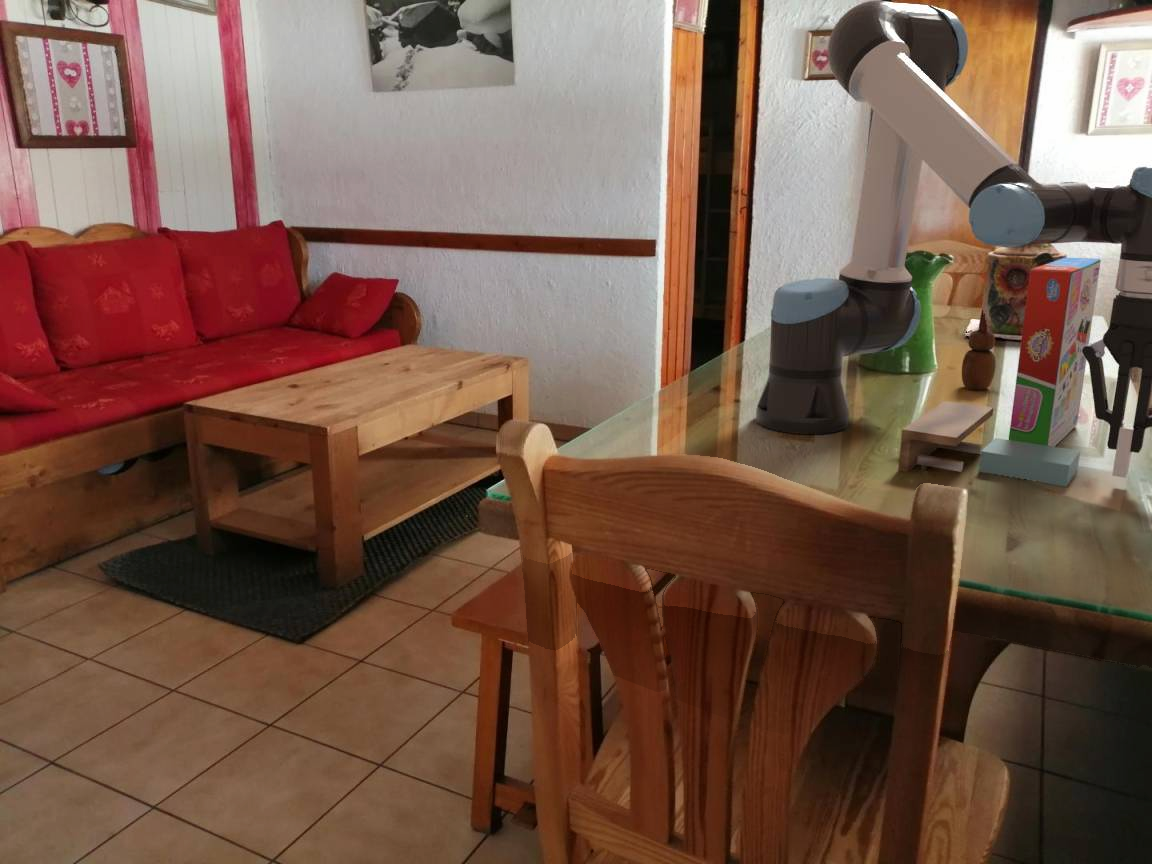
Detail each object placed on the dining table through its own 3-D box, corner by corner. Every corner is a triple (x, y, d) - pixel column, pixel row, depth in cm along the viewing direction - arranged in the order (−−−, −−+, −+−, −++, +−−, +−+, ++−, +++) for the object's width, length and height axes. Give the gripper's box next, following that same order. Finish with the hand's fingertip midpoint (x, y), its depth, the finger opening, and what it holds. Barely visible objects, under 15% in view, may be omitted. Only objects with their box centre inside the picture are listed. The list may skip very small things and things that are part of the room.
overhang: (898, 470, 127) (902, 429, 125) (940, 437, 142) (944, 400, 141) (951, 480, 123) (956, 437, 121) (988, 445, 138) (993, 407, 136)
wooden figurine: (962, 383, 179) (971, 307, 175) (994, 386, 176) (1004, 309, 172) (957, 390, 173) (965, 312, 169) (989, 393, 170) (999, 314, 166)
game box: (1041, 421, 151) (1063, 256, 144) (1077, 427, 148) (1102, 258, 140) (1006, 450, 136) (1029, 267, 128) (1045, 457, 132) (1072, 269, 125)
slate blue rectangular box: (978, 471, 126) (981, 451, 125) (992, 457, 132) (995, 437, 131) (1066, 486, 120) (1069, 465, 119) (1077, 471, 126) (1080, 450, 125)
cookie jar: (969, 324, 248) (982, 204, 239) (1070, 330, 238) (1088, 205, 229) (962, 339, 227) (977, 208, 218) (1073, 346, 216) (1093, 208, 207)
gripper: (1085, 294, 114) (1059, 472, 120) (1210, 301, 106) (1176, 491, 112) (1094, 288, 119) (1070, 458, 126) (1214, 294, 112) (1181, 475, 118)
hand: (1120, 473), depth 119 cm, fingers closed
